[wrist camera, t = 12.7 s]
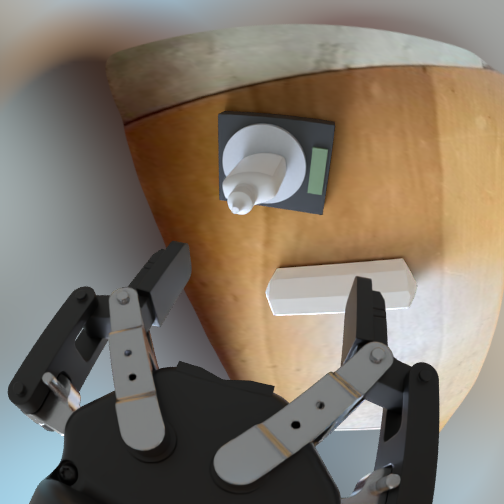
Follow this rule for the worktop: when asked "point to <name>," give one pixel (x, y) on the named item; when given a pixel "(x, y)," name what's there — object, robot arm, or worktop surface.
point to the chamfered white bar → (338, 286)
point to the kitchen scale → (282, 143)
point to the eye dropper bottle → (254, 181)
